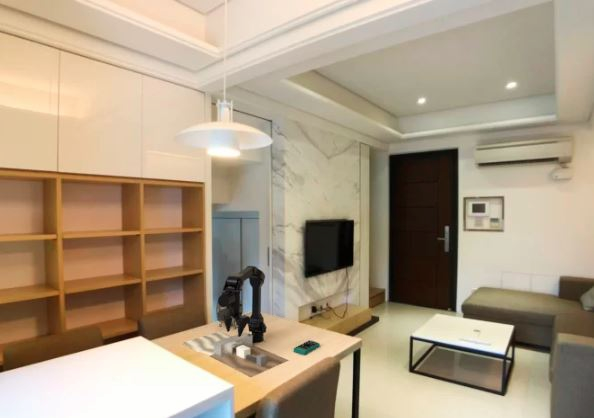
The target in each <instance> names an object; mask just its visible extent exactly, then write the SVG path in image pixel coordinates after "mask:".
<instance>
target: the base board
mask: <svg viewBox="0 0 594 418" xmlns="http://www.w3.org/2000/svg"><path fill="white" fill-rule="evenodd" d="M232 336H233V335H230V334H228V333H224V332H222V331H217V332H213V333H210V334H206V335H203V336H200V337H197V338H193V339H190V340H187V341H184V342H182V343H183V344H182V345H184V346H185V347H188V348H189V347H190V348H189V349H191V348H192V350H193V349H194V350H193V351H195V350H196V351H195V352H197V353H203V354H204V355H206V356H209V357H210V358H212V359H214V360H216V361H218V362H219V363H222V364H223V365H226V366H228V367H230V368H232V369H234V370H235V371H238V372H239V373H242V374H243V375H244V376H247V377H249V378H253V377H255V376H258V375H260V374H263V373H264V372H266V371H269V370H271V369H273V368H275V367H278V366H280V365H282V364H284V363H286V362H289V361H290V360H289V359H287V358H285V357H283V356H279V355H277V354H275V353H272V352H270V351H268V350H265V349H263V348H260V347H258V346H256V345H253V344H252V348H251V349H250V355H251V356H253V357H255V358H257V355H260V354H265V355H267V360H266V364H265V365H262V366H259V365H257V363H256V362H254V361H251V360H249V359H247V358H245V359H244V358H242V357H239V356H237V355H236V354H237V350H236V348H235V344H233V348H232V355H230V356H227V357H224V358H222V359H220V358H218V357H216V356H214V342H216V341H219V340H222V339H226V338H229V337H232Z"/></svg>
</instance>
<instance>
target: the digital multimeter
mask: <svg viewBox="0 0 594 418" xmlns="http://www.w3.org/2000/svg"><path fill="white" fill-rule="evenodd" d="M319 346H320V343H319V342H317V341H315V340H310V339H309V340H307V341H304V342H303V343H302V344H299V345H297V346H295V347H294V348H293V352H294V353H295V354H298V355H301V356H306V355H308V354H309V352H310V353H312V352H313V351H315V350H317V349H319V348H320V347H319ZM318 347H319V348H318ZM316 348H317V349H316ZM314 349H315V350H314Z"/></svg>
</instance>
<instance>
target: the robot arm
mask: <svg viewBox="0 0 594 418" xmlns="http://www.w3.org/2000/svg"><path fill="white" fill-rule="evenodd" d="M246 280H249V284H250V286H251V292H252V293H251V315H250V316H249V315H246V314H243V311H242V312H240V306H242V307H243V303H242V304H241V303H240V300H241V292H242V291H243V289H242V287H243V285H244V282H245V281H246ZM265 280H266V274H265V273H264V271H262V270H260V269H259V268H258V267H257V266H256V265H247V266H246V267H245V268H244V269H243V270H241V271H240V272H238V273H236V274H235V273H233V274H230V275H228V276H227V278H226V279H225V281H224V285H223V288H222V292H221V295H219V297H218V299H217V302H218V303H219V305H220V306H221V307H226V308H225V309H222V310H220V311H219V312H218V313H217V315H218V318H219V320H222V321H224V323H223V324H224V326H225V329H226V332H230V330H231V327H232V326H231V323H232V318H234V319H235V321H236V322H235V326H236V328H237V335H238V337H240V336H241V335H242V333H244V330H245V328H246V327H248V332H251V335H252V344H256V343H257V344H258V343H262V342H265V340H264V339H265V338H264V337H265V336H264V334H265V333H266V332H267V325H266V323H265V321H264V317H263V315H262V308H261V307H262V287H263V285H264V284H265ZM227 287H229V288H227ZM241 314H242V316H240V315H241ZM217 315H216V316H217Z"/></svg>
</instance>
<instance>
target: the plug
mask: <svg viewBox="0 0 594 418" xmlns="http://www.w3.org/2000/svg"><path fill="white" fill-rule="evenodd" d="M250 349H251V348H249V347H247V346H244V345H241V346H238V347H237V349H236V350H237V354H236V355H237V356H239V357H242V358H244V359H245V358H247V359H249V360H251V361H254V362H256V363H257V365H259V366H262V365H265V364H266V360H267V355H265V354H260V355H257V358H255V357H253V356H251V355H250Z"/></svg>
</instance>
